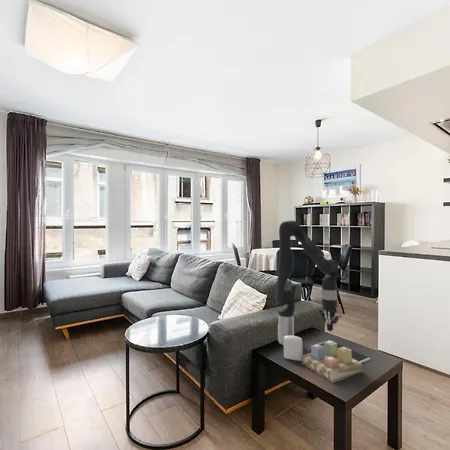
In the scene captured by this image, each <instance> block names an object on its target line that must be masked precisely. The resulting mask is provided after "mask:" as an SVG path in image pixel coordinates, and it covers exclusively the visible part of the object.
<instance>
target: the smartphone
mask: <svg viewBox="0 0 450 450" xmlns="http://www.w3.org/2000/svg"><path fill="white" fill-rule="evenodd" d="M324 342H325V341H323V342H320V343H318V344H319V345H321V346H323V347H324ZM336 343H337V348H341V347H345V346H344V345H342V344H339V343H338V342H336ZM347 348H348V347H347ZM348 349H350V350H352V358H353V359H355V360H357V361H359V362H361V363H362V364H363V363H364V364H365V363H367V362H370V361H371V358H370V357H369V356H366V355H365V354H362V353H360V352H357V351H355V350H353V349H351V348H348ZM337 351H338V350H337Z"/></svg>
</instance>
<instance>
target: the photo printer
mask: <svg viewBox="0 0 450 450" xmlns="http://www.w3.org/2000/svg"><path fill="white" fill-rule="evenodd" d="M303 344H304V343H303V339H302V338H301V337H300V336H297V335H294V336H292V335H288V336H285V337H284V345H283V358H284V359H287V360H293V361H298V362H302V356H303V355H304V346H303Z"/></svg>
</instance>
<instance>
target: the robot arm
mask: <svg viewBox="0 0 450 450" xmlns="http://www.w3.org/2000/svg"><path fill="white" fill-rule="evenodd" d="M278 229H279V230H278V236H279V238H278V239H279V246H278V247H279V248H278V249H279V250H278V251H279V252H278V254H279V255H278V265H277V266H278V267H277V268H278V270H277V281H276V286H275V296H274V297H275V301H276V303H277V305H283V306H282V307H280V308H279V309H278V311H277V313H278V325H277V341H278V343H279V344H280V345H282V346H284V337H285V336H288V335H292V336H295V319H294V318H295V317H294V316H295V315H294V313H295V309H296V308H295V307H296V306H295V303H296V296H295V295H296V294H295V291H294V289H293V288H291V287H286V284H287V281H288V279H289V278H290V277H291V275H292V274H293V273H294V269H295V255H294V253H293V251H292V248H291V237H294V238H295V239H297V240H298V241H299V242H300V243H301V244H300V245H301V246H302V249H303V252H305V254H306V255H307V256H308V257H309V258H311V260H312V261H313V262H314V264H315V266H316V268H317V269H318V270H319V271H320V272H321V273H323V274H324V275H325V276H324V277H323V278H322V279H321V281H322V282H321V288H322V289H321V306H322V309H320V310H319V311H318V312H319V314H320V316H321V319H323V321H324V322H325V323H326V328H327V331H328V332H332V331H333V329H334V325H335V324H337V323H338V322H339V320H340V319H341V317H342V316H341V315H340V314H339V313H338V310H337V308H338V292H337V279H338V274H339V264H338V262H337V260H334V259H331V258H330V259H327V258H326V257H325V253H324V251H323V250H322V249H321V248H320V247H319V246H318V245H316V243H314V242H313V241H312V239H311V238H310V237H309V236H308V235H307V233H306V232H305V231H304V229H303V228H302V227H301V225H300V223H298V222H297V221H295V220H286V221H282V222H281V223H280V225H279V228H278Z"/></svg>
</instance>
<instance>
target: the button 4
mask: <svg viewBox="0 0 450 450" xmlns="http://www.w3.org/2000/svg"><path fill="white" fill-rule="evenodd" d="M350 349H351V348H349V349H348V347H346V346H344V347H341V348H337V350H338V360H339V361H340V362H342V363H344V364H348V363H351V362H352V350H353V349H351V350H350Z"/></svg>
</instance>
